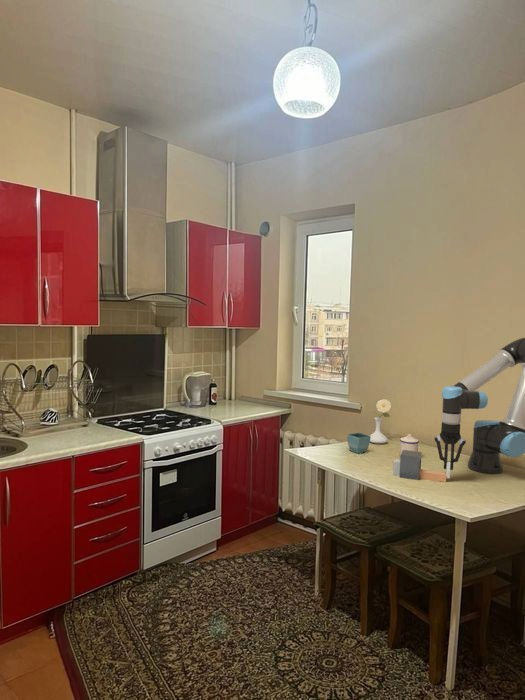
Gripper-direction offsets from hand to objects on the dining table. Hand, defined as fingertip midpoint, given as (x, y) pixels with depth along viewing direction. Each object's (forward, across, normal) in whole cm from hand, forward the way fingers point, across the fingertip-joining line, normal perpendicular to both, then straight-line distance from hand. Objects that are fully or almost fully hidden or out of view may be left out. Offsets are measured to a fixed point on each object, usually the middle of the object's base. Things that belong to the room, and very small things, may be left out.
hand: (447, 476), depth 217 cm
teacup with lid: (+2, +20, -32) cm, 38 cm away
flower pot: (+2, +44, -28) cm, 53 cm away
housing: (+2, +16, 0) cm, 16 cm away
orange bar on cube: (+2, +12, 0) cm, 12 cm away
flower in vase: (+2, +38, -54) cm, 66 cm away
